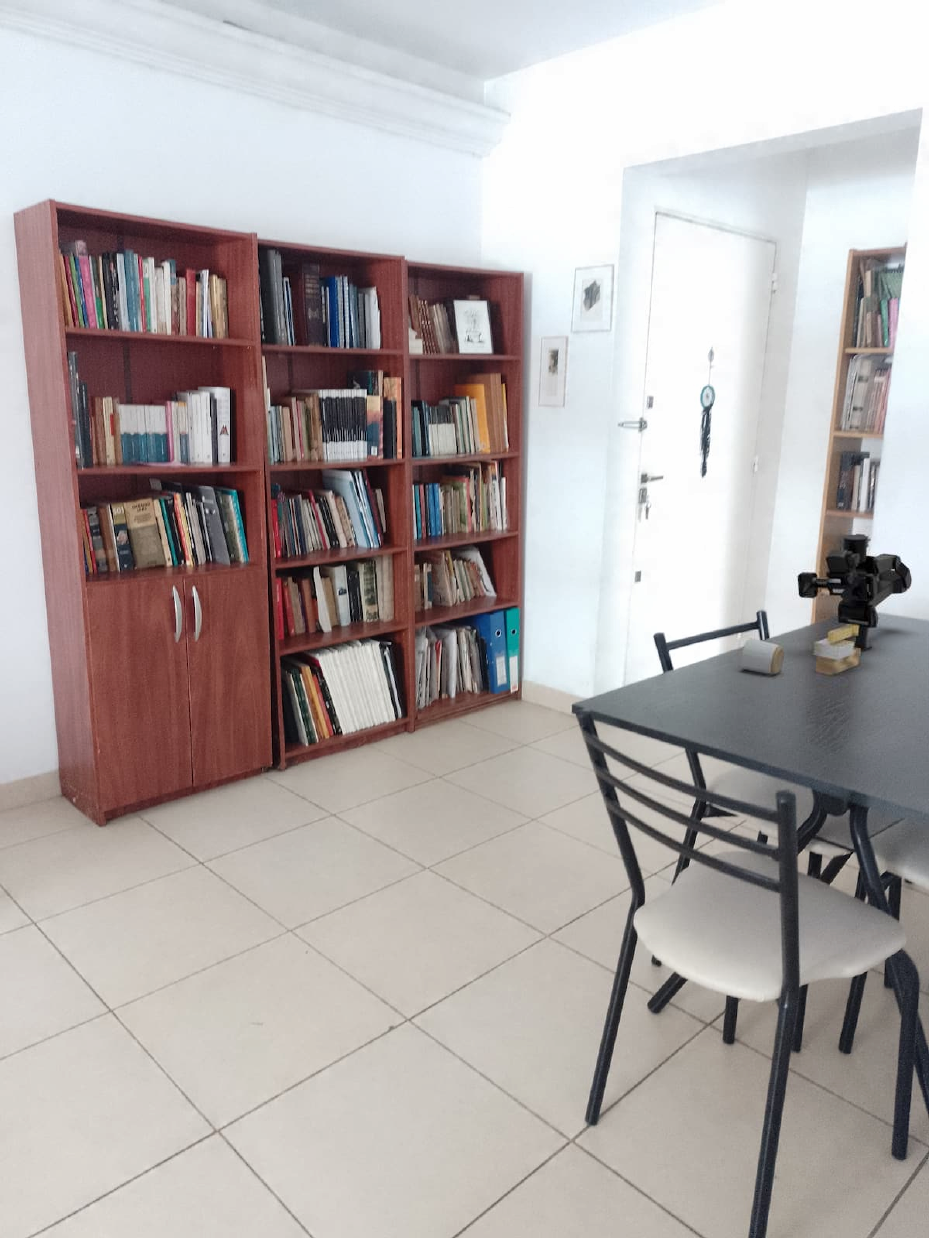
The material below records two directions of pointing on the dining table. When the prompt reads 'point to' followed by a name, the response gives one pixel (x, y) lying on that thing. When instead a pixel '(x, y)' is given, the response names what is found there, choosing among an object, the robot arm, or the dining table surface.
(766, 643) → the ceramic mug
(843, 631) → the lever
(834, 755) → the dining table surface
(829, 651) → the frosted white brick
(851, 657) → the tan block
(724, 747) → the dining table surface
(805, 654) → the dining table surface
